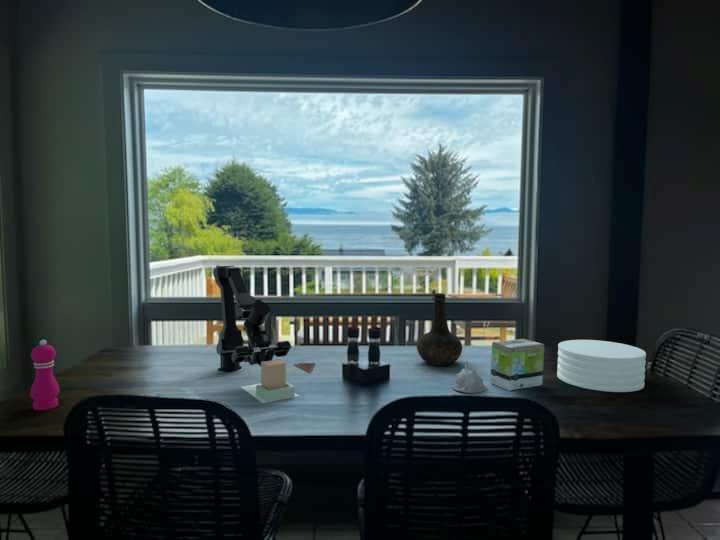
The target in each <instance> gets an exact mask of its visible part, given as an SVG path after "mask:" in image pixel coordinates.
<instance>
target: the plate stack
mask: <svg viewBox="0 0 720 540" xmlns="http://www.w3.org/2000/svg"><path fill="white" fill-rule="evenodd" d="M557 346H558V347H557V348H558V350H557V355H558V357H557V371H556V376H557V378H558V379H559V380H561V381H563V382H564V383H566V384H568V385H572V386H575V387H579V388H583V389H587V390H594V391H600V392H610V393H629V392H636V391H640V390H642V389H644V388H645V379H646V375H645V373H646V367H645V366H646V363H647V362H646V357H647V353H646V351H645V350H643V349H641V348H639V347H636V346H633V345H629V344H625V343H619V342H616V341H615V342H614V341H606V340H598V339H597V340H596V339H595V340H594V339H570V340H564V341H561V342H559V343H558V344H557Z"/></svg>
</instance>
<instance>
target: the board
mask: <svg viewBox="0 0 720 540" xmlns="http://www.w3.org/2000/svg"><path fill="white" fill-rule="evenodd" d="M295 387H296V386H294V385H293V384H291V383H290V382H288V381H286V388H281V389H275V390H270V391H268V390H267V389H265V388H264V387H262V386H261V382H260V383H255V384H250V385H243V386H240V388H241V389H242V390H244V391H245V392H246V393H248V394H250V395H251V396H252V397H254V398H255V399H257V401H259V402H260V403H262V404H265V403H270V402H275V401H280V400H281V401H282V400H285V399H286V400H287V399H291V398H296V397H299V396H300V395H299V394H297V393H296V391H295Z"/></svg>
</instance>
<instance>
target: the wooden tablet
mask: <svg viewBox="0 0 720 540" xmlns="http://www.w3.org/2000/svg"><path fill="white" fill-rule="evenodd" d="M292 366H293V367H295V368H297V369H300V370H301V371H304V372H306V373H308V374H311V373H312V371H313V370H314V368H315V366H316V363H315V362H304V363H303V362H299V363H298V364H296V363H294V364H292Z"/></svg>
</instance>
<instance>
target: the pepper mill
mask: <svg viewBox="0 0 720 540" xmlns="http://www.w3.org/2000/svg"><path fill="white" fill-rule="evenodd" d="M56 355H57V353H56V349H55V348H54V346H52V345H50V344H48V343H47V340H46V339H42V340H40V341H39V345H37V346H36V347H33V349H32V351H31V353H30V356H31V359H32V360H33V368H34V369H35V378H34V381H33V384H32V386H31V389H30V397H31V399H32V400H33V402H32V408H33V410H35V411H47V410H51V409H54V408H57V407H58V405H59V399H58V396H59V394H60V386H59V383H58V381H57V380H56V378H55V376H54V372H53V367H54V366H55V360H54V358H55V357H56Z"/></svg>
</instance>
